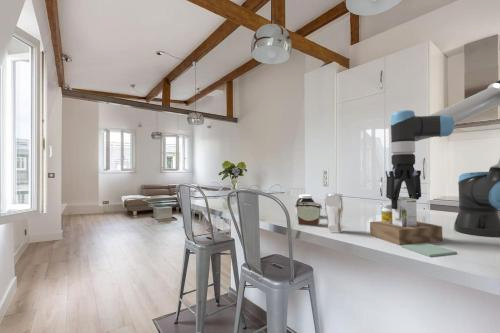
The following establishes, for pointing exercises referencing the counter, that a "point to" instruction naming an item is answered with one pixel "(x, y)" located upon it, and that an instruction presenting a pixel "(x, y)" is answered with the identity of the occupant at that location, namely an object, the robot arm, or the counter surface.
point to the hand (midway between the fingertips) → (404, 217)
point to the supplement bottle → (387, 212)
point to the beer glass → (334, 212)
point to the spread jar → (304, 199)
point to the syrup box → (406, 213)
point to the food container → (308, 213)
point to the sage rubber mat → (429, 249)
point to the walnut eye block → (406, 232)
